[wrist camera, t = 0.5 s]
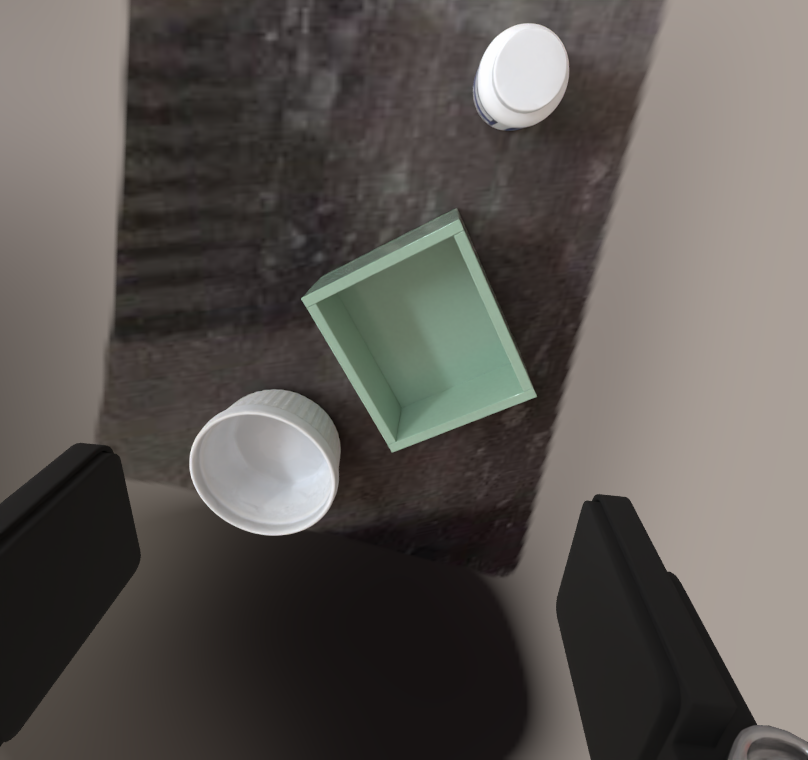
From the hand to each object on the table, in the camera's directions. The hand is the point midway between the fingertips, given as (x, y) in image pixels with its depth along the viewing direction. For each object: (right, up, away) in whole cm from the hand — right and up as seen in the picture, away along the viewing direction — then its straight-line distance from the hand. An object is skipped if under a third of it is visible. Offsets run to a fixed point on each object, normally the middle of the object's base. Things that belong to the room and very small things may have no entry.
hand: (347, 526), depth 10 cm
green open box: (+3, +8, +34) cm, 35 cm away
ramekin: (-11, -3, +40) cm, 42 cm away
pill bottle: (+9, +24, +26) cm, 36 cm away
